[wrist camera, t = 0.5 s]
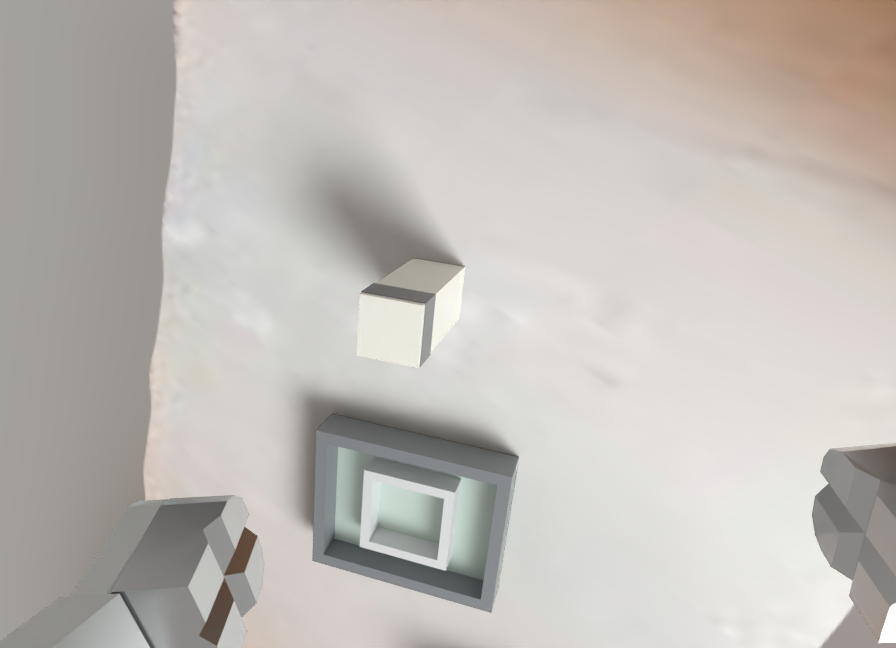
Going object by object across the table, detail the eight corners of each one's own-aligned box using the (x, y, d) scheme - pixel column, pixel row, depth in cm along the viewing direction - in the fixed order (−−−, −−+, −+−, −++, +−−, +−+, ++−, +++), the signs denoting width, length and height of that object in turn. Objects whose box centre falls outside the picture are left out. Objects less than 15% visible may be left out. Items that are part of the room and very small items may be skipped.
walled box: (332, 413, 53) (316, 430, 50) (519, 457, 49) (512, 477, 47) (327, 539, 57) (312, 560, 55) (498, 587, 54) (491, 612, 51)
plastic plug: (412, 257, 46) (359, 293, 37) (465, 266, 46) (424, 304, 36) (408, 309, 48) (355, 355, 39) (459, 318, 47) (418, 368, 38)
